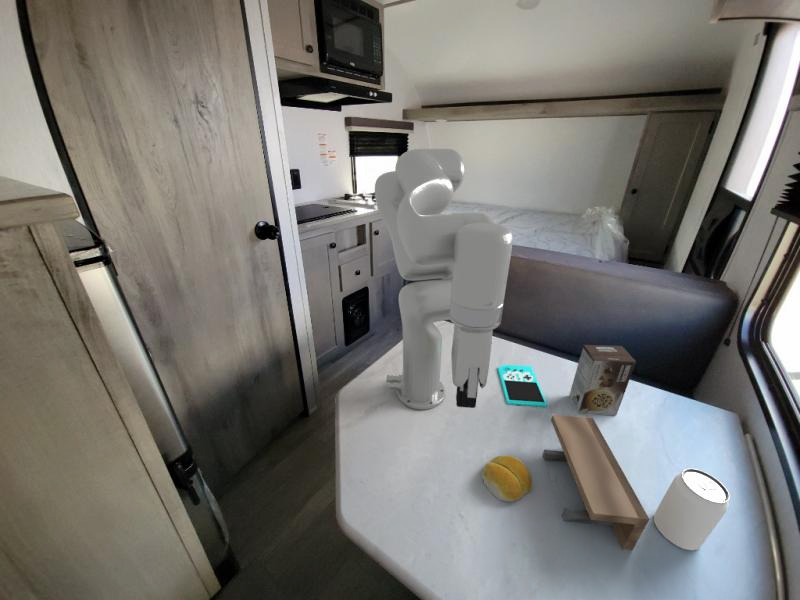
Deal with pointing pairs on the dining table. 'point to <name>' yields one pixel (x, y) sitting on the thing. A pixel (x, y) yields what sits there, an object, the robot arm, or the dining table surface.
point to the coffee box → (601, 379)
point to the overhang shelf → (597, 480)
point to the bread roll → (507, 478)
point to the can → (691, 508)
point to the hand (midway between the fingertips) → (465, 403)
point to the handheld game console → (521, 386)
